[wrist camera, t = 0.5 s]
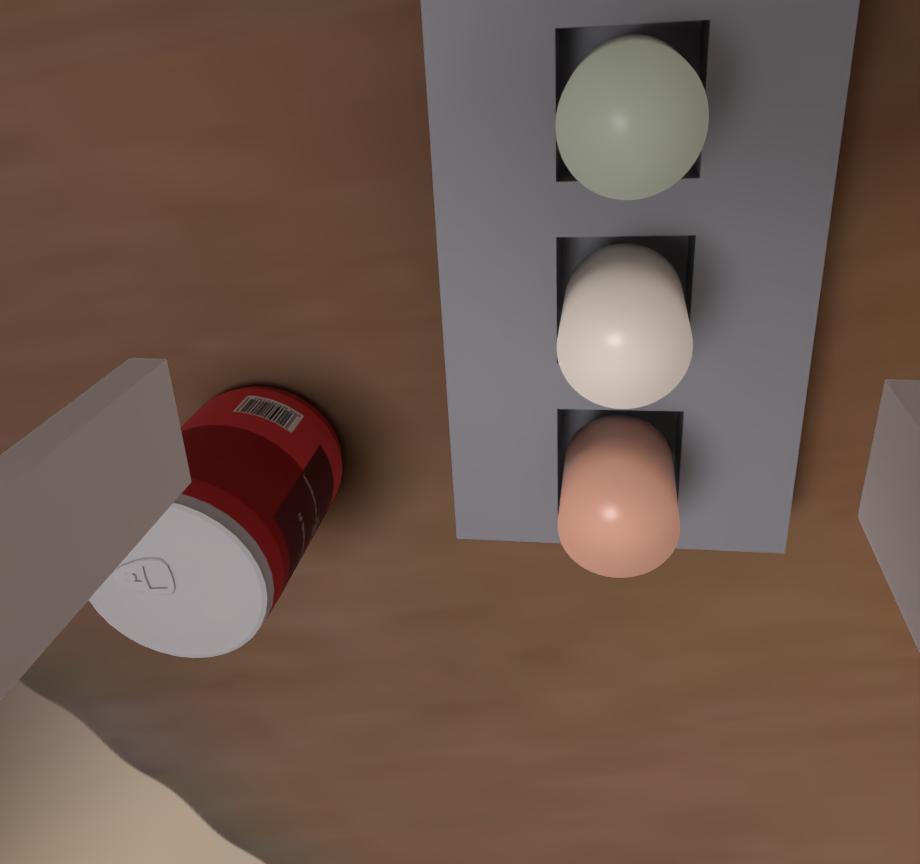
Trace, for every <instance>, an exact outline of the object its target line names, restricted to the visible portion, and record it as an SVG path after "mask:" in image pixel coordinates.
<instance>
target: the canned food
mask: <svg viewBox="0 0 920 864" xmlns="http://www.w3.org/2000/svg"><path fill="white" fill-rule="evenodd" d="M181 432H182V437H183V442H184V447H185V452H186V457H187V462H188V467H189V472H190V477H191V483H190V484H189V485H188V486H187V488H186V489H185V490H184V491H183V492H182V493H181V494H180V496H179V497H178V498H177V499H176V500H175V501H174V502H173V504H172V505H171V506H170V507H169V508H168V509H167V511H166V512H165V513H164V514H163V515H162V516H161V517H160V519H159V520H158V521H157V522H156V523H155V524H154V525H153V527H152V528H151V529H150V530H149V531H148V532H147V533H146V535H145V536H144V537H143V538H142V539H141V540H140V541H139V543H138V544H137V545H136V546H135V547H134V548H133V549H132V551H131V552H130V553H129V554H128V555H127V556H126V557H125V559H124V560H123V561H122V562H121V563H120V564H119V566H118V567H117V568H116V569H115V570H114V571H113V572H112V574H111V575H110V576H109V577H108V578H107V579H106V580H105V582H104V583H103V584H102V585H101V586H100V587H99V588H98V590H97V591H96V592H95V593H94V594H93V595H92V596H91V598H90V599H89V601H90V602H91V604H92V605H93V606H94V608H95V609H96V611H97V612H98V613H99V614H100V615H101V616H102V617H103V618H104V619H105V620H106V621H107V622H108V623H109V624H110V625H112V626H113V627H114V628H115V629H117V630H118V631H119V632H121V633H122V634H123V635H125V636H126V637H128V638H130V639H132V640H134V641H135V642H137V643H139V644H141V645H143V646H145V647H148V648H150V649H153V650H156V651H158V652H162V653H166V654H170V655H174V656H179V657H190V658H202V657H213V656H217V655H222V654H226V653H228V652H231V651H233V650H235V649H237V648H239V647H241V646H242V645H244V644H245V643H246V642H247V641H249V640H250V639H251V638H252V637H253V636H254V635H255V633H256V632H257V631H258V630H259V628H260V627H261V626H262V624H263V623H264V622H265V620H266V619H267V618H268V616H269V614H270V612H271V611H272V609H273V607H274V605H275V604H276V602H277V601H278V599H279V597H280V596H281V594H282V592H283V590H284V588H285V586H286V585H287V583H288V581H289V579H290V577H291V576H292V574H293V572H294V570H295V568H296V567H297V565H298V563H299V561H300V559H301V558H302V556H303V554H304V552H305V550H306V548H307V547H308V545H309V543H310V541H311V539H312V538H313V536H314V534H315V532H316V530H317V529H318V527H319V525H320V523H321V521H322V519H323V518H324V516H325V514H326V512H327V510H328V509H329V507H330V505H331V503H332V501H333V500H334V498H335V496H336V494H337V491H338V489H339V486H340V484H341V477H342V453H341V447H340V444H339V441H338V438H337V436H336V434H335V432H334V430H333V428H332V426H331V425H330V423H329V422H328V421H327V420H326V419H325V417H324V416H323V415H322V414H321V413H320V412H319V411H318V410H317V409H316V408H314V407H313V406H312V405H311V404H310V403H308V402H307V401H305V400H303V399H302V398H300V397H298V396H297V395H294V394H292V393H289V392H287V391H284V390H281V389H277V388H272V387H265V386H250V387H243V388H238V389H235V390H231V391H228V392H226V393H223V394H220V395H217V396H216V397H214V398H213V399H211V400H210V401H208V402H206V403H205V404H204V405H203V406H202V407H201V408H200V409H199V410H198V411H197V412H196V413H195V414H194V415H193V416H192V417H191V418H190V419H189V420H188V421H187V422H186V423H185V424H184V425H183V426H182V427H181Z"/></svg>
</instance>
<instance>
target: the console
mask: <svg viewBox="0 0 920 864" xmlns="http://www.w3.org/2000/svg"><path fill="white" fill-rule="evenodd" d="M859 4H860V0H421V13H422V28H423V43H424V58H425V72H426V87H427V102H428V117H429V132H430V147H431V161H432V176H433V191H434V206H435V221H436V236H437V251H438V265H439V280H440V295H441V310H442V325H443V340H444V354H445V369H446V384H447V399H448V414H449V429H450V444H451V458H452V473H453V488H454V503H455V518H456V533H457V539H480V540H502V541H524V542H546V543H561V541H560V538H559V534H558V515H559V506H560V497H561V488H562V480H563V471H564V462H565V454H566V450H567V447H568V444H569V442H570V441H571V439H572V437H573V436H574V435H575V433H576V432H577V431H578V430H579V429H580V428H582V427H583V426H584V425H586V424H587V423H589V422H591V421H593V420H595V419H597V418H601V417H604V416H610V415H628V416H633V417H636V418H639V419H642V420H644V421H646V422H648V423H650V424H651V425H653V426H654V427H655V428H657V429H658V430H659V431H660V432H661V433H662V434H663V436H664V437H665V439H666V440H667V442H668V444H669V446H670V449H671V452H672V458H673V467H674V476H675V484H676V493H677V502H678V510H679V519H680V536H679V540H678V543H677V545H676V547H675V548H678V549H700V550H722V551H745V552H767V553H785V549H786V541H787V534H788V527H789V519H790V512H791V504H792V497H793V490H794V482H795V475H796V468H797V460H798V453H799V446H800V438H801V431H802V423H803V416H804V409H805V401H806V394H807V387H808V379H809V372H810V365H811V357H812V350H813V343H814V335H815V328H816V320H817V313H818V306H819V298H820V291H821V284H822V276H823V269H824V262H825V254H826V247H827V239H828V232H829V225H830V217H831V210H832V203H833V195H834V188H835V181H836V173H837V166H838V158H839V151H840V144H841V136H842V129H843V122H844V114H845V107H846V100H847V92H848V85H849V77H850V70H851V63H852V55H853V48H854V41H855V33H856V26H857V19H858V11H859ZM627 34H642V35H649V36H652V37H655V38H658V39H660V40H662V41H664V42H666V43H667V44H669V45H670V46H671V47H673V48H674V49H675V50H676V51H677V52H678V53H679V54H680V55H681V56H682V57H683V58H684V59H685V60H686V61H687V62H688V63H689V64H690V65H691V67H692V68H693V69H694V70H695V72H696V73H697V75H698V77H699V78H700V80H701V82H702V85H703V87H704V89H705V93H706V96H707V100H708V108H709V123H708V131H707V135H706V139H705V142H704V145H703V147H702V150H701V152H700V154H699V156H698V158H697V160H696V161H695V163H694V164H693V165H692V167H691V168H690V170H689V171H688V172H687V173H686V174H685V175H684V176H683V177H682V178H681V179H680V180H679V181H678V182H676V183H675V184H674V185H672V186H671V187H669V188H668V189H666V190H664V191H662V192H660V193H658V194H656V195H653V196H650V197H647V198H643V199H638V200H617V199H611V198H607V197H604V196H601V195H599V194H597V193H595V192H592V191H591V190H589V189H588V188H586V187H585V186H583V185H582V184H581V183H580V182H579V181H578V180H577V179H576V178H575V177H574V176H573V175H572V174H571V172H570V171H569V169H568V168H567V166H566V165H565V163H564V161H563V159H562V157H561V154H560V151H559V148H558V144H557V139H556V129H555V124H556V113H557V108H558V104H559V101H560V98H561V95H562V93H563V91H564V88H565V86H566V84H567V83H568V81H569V79H570V77H571V76H572V74H573V72H574V70H575V69H576V67H577V66H578V64H579V63H580V62H581V60H582V59H583V58H584V57H585V56H586V55H587V54H588V53H589V52H590V51H591V50H592V49H593V48H595V47H596V46H597V45H599V44H601V43H603V42H604V41H606V40H609V39H611V38H613V37H617V36H621V35H627ZM619 243H633V244H638V245H642V246H646V247H648V248H651V249H653V250H655V251H656V252H658V253H659V254H661V255H662V256H663V257H665V258H666V259H667V260H668V261H669V262H670V264H671V265H672V266H673V267H674V269H675V271H676V272H677V274H678V276H679V279H680V282H681V285H682V290H683V294H684V299H685V304H686V308H687V313H688V318H689V322H690V327H691V332H692V338H693V352H692V358H691V361H690V365H689V367H688V369H687V372H686V374H685V375H684V377H683V378H682V380H681V381H680V383H679V384H678V385H677V386H676V387H675V388H674V389H673V390H672V391H671V392H670V393H669V394H667V395H666V396H664V397H663V398H661V399H660V400H658V401H656V402H654V403H651V404H649V405H646V406H642V407H639V408H632V409H614V408H609V407H604V406H601V405H598V404H595V403H593V402H591V401H589V400H587V399H586V398H584V397H583V396H581V395H580V394H579V393H578V392H576V391H575V390H574V389H573V388H572V386H571V385H570V384H569V383H568V381H567V380H566V379H565V377H564V375H563V373H562V371H561V368H560V366H559V362H558V358H557V337H558V332H559V326H560V320H561V315H562V309H563V303H564V298H565V292H566V287H567V284H568V281H569V279H570V277H571V275H572V273H573V271H574V270H575V268H576V267H577V266H578V265H579V264H580V262H581V261H582V260H583V259H585V258H586V257H587V256H588V255H590V254H591V253H593V252H594V251H596V250H598V249H600V248H603V247H606V246H609V245H613V244H619Z"/></svg>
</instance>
